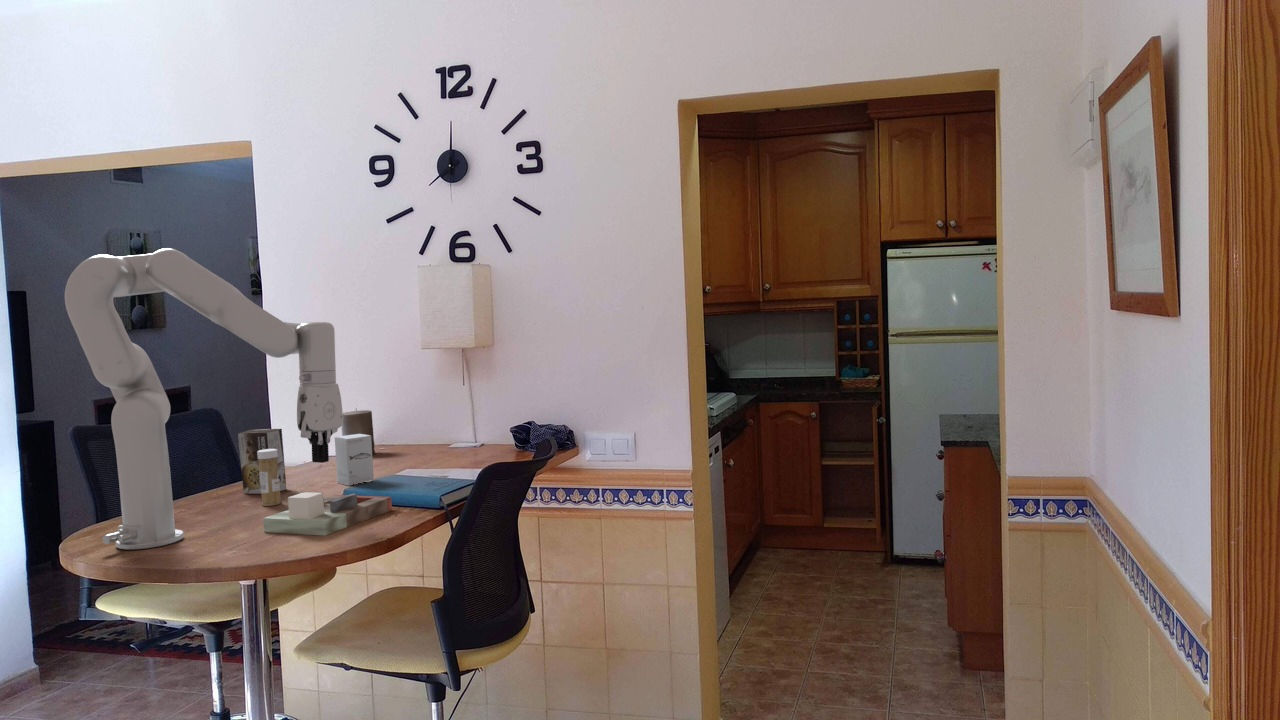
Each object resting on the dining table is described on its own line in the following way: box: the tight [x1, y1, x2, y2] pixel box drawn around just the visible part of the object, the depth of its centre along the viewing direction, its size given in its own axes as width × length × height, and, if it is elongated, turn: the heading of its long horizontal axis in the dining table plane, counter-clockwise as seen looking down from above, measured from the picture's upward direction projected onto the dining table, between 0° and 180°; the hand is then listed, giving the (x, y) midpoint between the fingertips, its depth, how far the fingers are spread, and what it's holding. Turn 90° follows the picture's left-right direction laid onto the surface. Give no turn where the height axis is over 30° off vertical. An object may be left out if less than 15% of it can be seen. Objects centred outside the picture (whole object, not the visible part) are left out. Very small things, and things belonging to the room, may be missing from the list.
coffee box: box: [237, 428, 287, 495], centre depth 246 cm, size 9×6×16 cm
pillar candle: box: [340, 407, 376, 455], centre depth 299 cm, size 10×10×15 cm
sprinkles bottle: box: [257, 449, 282, 507], centre depth 229 cm, size 5×5×13 cm
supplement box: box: [334, 434, 375, 487], centre depth 253 cm, size 7×7×13 cm
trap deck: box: [262, 492, 393, 536], centre depth 209 cm, size 23×16×6 cm
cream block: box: [287, 491, 324, 519], centre depth 201 cm, size 5×5×4 cm
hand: (320, 461), depth 207 cm, fingers closed
